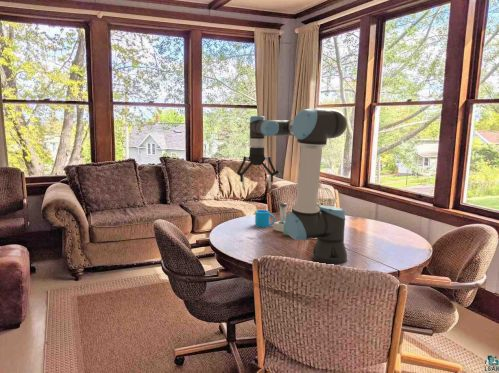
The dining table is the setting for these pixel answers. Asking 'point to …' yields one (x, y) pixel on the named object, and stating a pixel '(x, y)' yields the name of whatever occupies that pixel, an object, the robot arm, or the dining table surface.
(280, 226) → the mount
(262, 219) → the mug
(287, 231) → the socket
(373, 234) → the dining table surface
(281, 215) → the pin
